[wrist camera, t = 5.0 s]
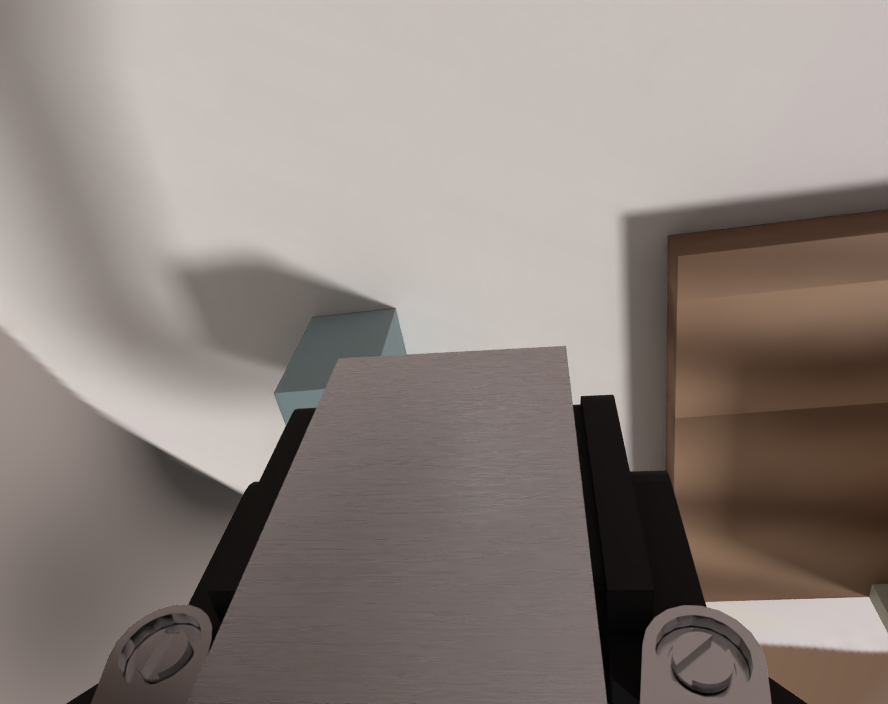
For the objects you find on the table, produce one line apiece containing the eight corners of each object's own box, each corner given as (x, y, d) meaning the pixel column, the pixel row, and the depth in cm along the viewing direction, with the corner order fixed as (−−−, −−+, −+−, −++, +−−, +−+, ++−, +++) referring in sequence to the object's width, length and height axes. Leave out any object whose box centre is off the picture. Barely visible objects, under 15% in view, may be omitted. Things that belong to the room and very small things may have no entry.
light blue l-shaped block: (312, 317, 31) (273, 393, 26) (395, 308, 30) (372, 384, 25) (370, 501, 37) (348, 591, 32) (440, 497, 37) (428, 588, 32)
